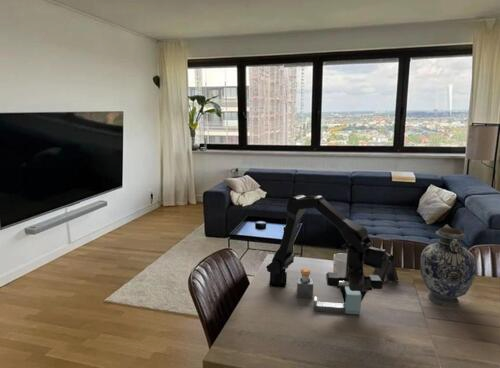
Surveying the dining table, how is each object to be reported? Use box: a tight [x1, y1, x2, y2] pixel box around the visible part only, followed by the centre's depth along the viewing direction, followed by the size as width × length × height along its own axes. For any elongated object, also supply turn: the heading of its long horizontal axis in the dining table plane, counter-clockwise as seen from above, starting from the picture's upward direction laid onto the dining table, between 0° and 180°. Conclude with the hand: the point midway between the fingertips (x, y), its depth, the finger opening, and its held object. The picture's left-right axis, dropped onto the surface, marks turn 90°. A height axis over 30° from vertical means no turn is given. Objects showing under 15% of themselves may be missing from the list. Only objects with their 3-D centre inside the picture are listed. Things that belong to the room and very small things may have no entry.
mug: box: [332, 252, 349, 287], centre depth 151 cm, size 12×9×11 cm
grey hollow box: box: [296, 275, 314, 300], centre depth 139 cm, size 6×6×6 cm
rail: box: [312, 296, 346, 314], centre depth 129 cm, size 16×3×4 cm, turn 83°
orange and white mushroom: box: [300, 268, 311, 283], centre depth 139 cm, size 4×4×7 cm
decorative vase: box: [419, 224, 478, 308], centre depth 134 cm, size 21×19×28 cm
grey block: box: [343, 286, 362, 315], centre depth 128 cm, size 5×6×8 cm
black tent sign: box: [371, 250, 399, 284], centre depth 153 cm, size 9×6×12 cm, turn 104°
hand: (351, 302), depth 128 cm, fingers closed on grey block, 5 cm apart
